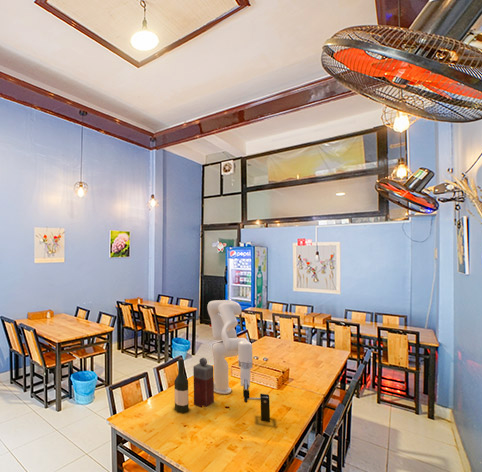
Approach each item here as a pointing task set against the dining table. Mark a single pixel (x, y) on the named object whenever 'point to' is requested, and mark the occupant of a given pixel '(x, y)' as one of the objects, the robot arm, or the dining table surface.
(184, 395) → the wine bottle
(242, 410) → the dining table surface
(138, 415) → the dining table surface
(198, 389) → the square decanter
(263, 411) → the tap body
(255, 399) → the faucet lever
